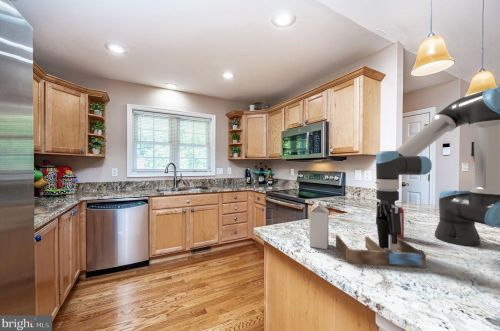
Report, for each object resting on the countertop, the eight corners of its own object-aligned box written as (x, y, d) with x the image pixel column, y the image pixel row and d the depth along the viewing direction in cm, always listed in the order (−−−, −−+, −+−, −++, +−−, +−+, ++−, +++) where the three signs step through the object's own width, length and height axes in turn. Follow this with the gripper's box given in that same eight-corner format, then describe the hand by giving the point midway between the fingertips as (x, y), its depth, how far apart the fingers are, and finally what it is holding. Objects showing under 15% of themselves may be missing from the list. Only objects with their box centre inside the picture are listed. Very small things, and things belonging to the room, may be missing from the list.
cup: (403, 253, 78) (403, 221, 78) (380, 252, 80) (380, 220, 80) (393, 245, 86) (393, 216, 86) (373, 244, 87) (373, 216, 87)
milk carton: (328, 244, 92) (328, 201, 92) (327, 249, 86) (327, 203, 86) (312, 241, 95) (311, 200, 95) (309, 247, 89) (309, 202, 89)
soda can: (397, 240, 96) (397, 208, 96) (380, 235, 103) (380, 205, 103) (407, 238, 99) (407, 206, 99) (390, 233, 107) (390, 203, 107)
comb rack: (399, 249, 86) (398, 235, 86) (426, 268, 70) (426, 252, 70) (335, 245, 90) (335, 232, 90) (347, 263, 73) (347, 248, 73)
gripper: (366, 187, 93) (367, 238, 93) (390, 193, 73) (390, 257, 73) (384, 187, 92) (385, 238, 92) (413, 193, 72) (414, 259, 72)
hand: (387, 247), depth 83 cm, fingers closed on cup, 8 cm apart
